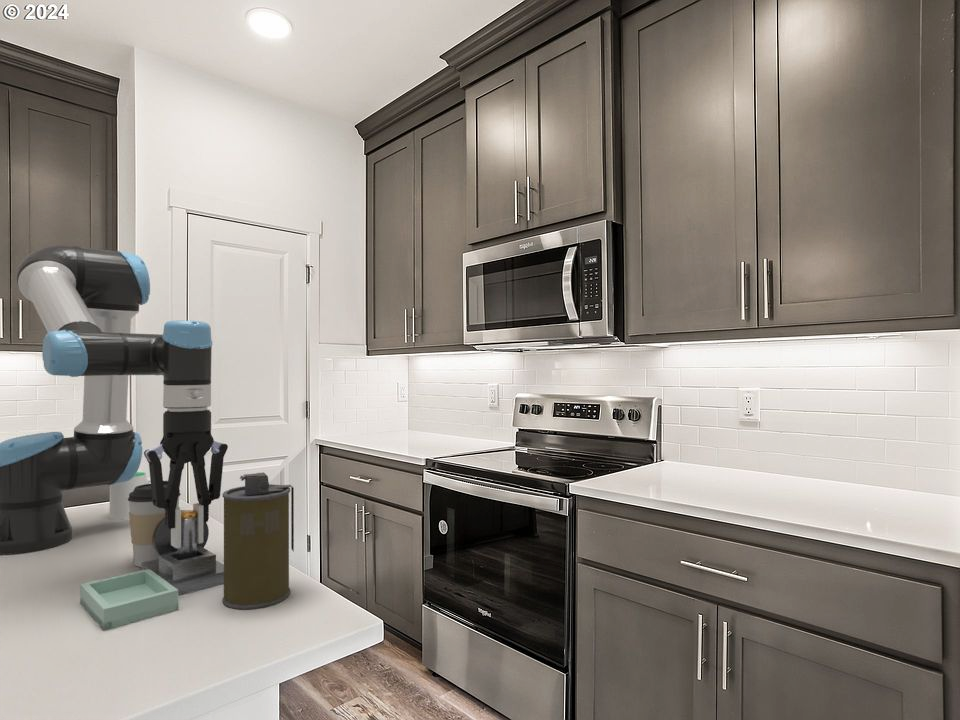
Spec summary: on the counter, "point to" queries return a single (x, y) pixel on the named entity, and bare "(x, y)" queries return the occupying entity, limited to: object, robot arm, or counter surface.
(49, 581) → the counter surface
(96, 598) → the tray
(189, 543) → the lock pin
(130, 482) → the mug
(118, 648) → the counter surface
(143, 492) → the coffee cup
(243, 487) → the canister
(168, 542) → the tensioner
